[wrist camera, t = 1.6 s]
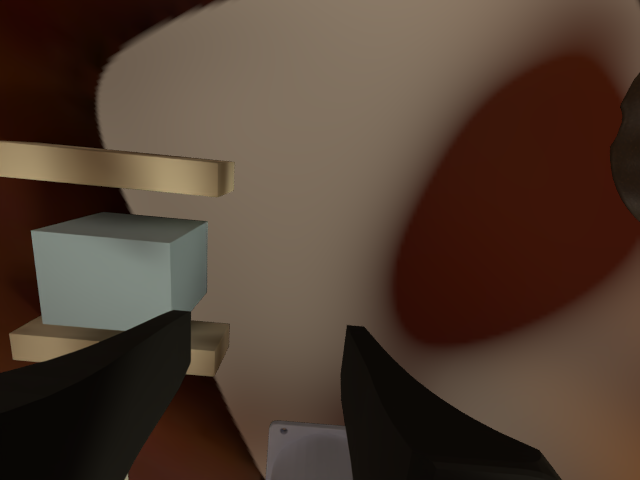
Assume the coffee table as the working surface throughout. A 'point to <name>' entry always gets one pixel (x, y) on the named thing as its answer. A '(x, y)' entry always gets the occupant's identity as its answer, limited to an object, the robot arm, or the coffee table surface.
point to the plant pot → (628, 151)
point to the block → (119, 269)
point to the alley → (120, 173)
